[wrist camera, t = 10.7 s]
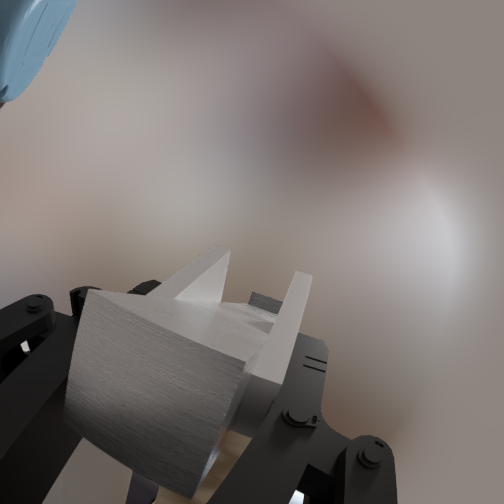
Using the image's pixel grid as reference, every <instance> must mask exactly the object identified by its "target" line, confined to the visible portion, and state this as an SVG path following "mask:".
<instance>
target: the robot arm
mask: <svg viewBox="0 0 504 504" xmlns="http://www.w3.org/2000/svg"><path fill="white" fill-rule="evenodd" d="M76 2H77V0H0V110H1V109H2V108H3V107H4V105H5V103H6V102H9V101H12V100H14V99H15V98H16V97H18V96H19V95H20V94H21V93H22V92H23V91H24V90H25V89H26V88H27V87H28V85H29V84H30V83H31V82H32V80H33V79H34V77H35V76H36V75H37V73H38V72H39V70H40V68H41V67H42V64H43V61H44V60H45V58H46V57H47V56H49V54H50V53H51V51H52V49H53V47H54V46H55V44H56V42H57V40H58V39H59V37H60V35H61V33H62V31H63V30H64V28H65V26H66V24H67V22H68V20H69V18H70V16H71V13H72V11H73V9H74V7H75V5H76ZM230 253H231V249H228V248H225V247H222V246H219V245H214V246H213V247H212V248H210V249H209V250H207V251H206V252H204V253H203V254H202V255H200V256H199V257H197V258H196V259H195V260H193V261H192V262H190V263H189V264H188V265H186V266H185V267H184V268H182V269H181V270H179V271H178V272H177V273H175V274H174V275H173V276H171V277H170V278H168V279H167V280H166V281H164V282H163V283H161V282H158V281H156V280H150V281H147V282H143V283H141V284H139V285H138V286H136V287H135V288H133V290H130V291H129V292H127V294H136V295H145V296H155V297H165V298H174V299H185V300H197V301H210V302H220V301H221V298H222V293H223V288H224V283H225V277H226V272H227V268H228V263H229V258H230ZM312 278H313V276H312V275H308V274H305V273H302V272H299V271H296V272H295V275H294V277H293V280H292V282H291V285H290V287H289V289H288V292H287V294H286V297H285V299H284V301H283V304H282V306H281V308H280V311H279V313H278V315H277V318H276V320H275V322H274V324H273V327H272V329H271V331H270V334H269V338H268V340H267V342H266V344H265V347H264V349H263V351H262V353H261V356H260V358H259V360H258V362H257V364H256V367H255V369H254V371H253V373H252V376H251V379H250V382H249V385H248V388H247V390H246V393H245V396H244V399H243V402H242V405H241V408H240V411H239V414H238V416H237V419H236V422H235V425H234V428H233V430H232V431H233V432H236V433H238V434H241V435H244V436H247V437H249V438H252V439H251V441H250V443H249V444H248V446H247V447H246V449H245V450H244V452H243V453H242V455H241V456H240V458H239V459H238V460H237V462H236V463H235V465H234V466H233V468H232V469H231V471H230V472H229V473H228V475H227V476H226V478H225V479H224V480H223V482H222V483H221V484H220V486H219V487H218V488H217V490H216V491H215V492H214V494H213V495H212V496H211V498H210V499H209V500H208V502H207V503H206V504H289V502H290V500H291V498H292V496H293V494H294V492H295V490H298V491H300V492H302V493H303V494H304V500H303V504H398V503H397V488H396V474H395V463H394V456H393V453H392V450H391V448H390V447H389V446H388V445H387V443H386V442H384V441H383V440H381V439H379V438H378V437H374V436H371V435H365V436H359V437H357V438H355V439H353V440H351V439H349V438H347V437H345V436H343V435H341V434H339V433H337V432H336V431H335V430H333V429H332V428H330V427H329V425H327V423H326V422H325V420H324V419H323V417H322V414H321V400H322V394H323V387H324V381H325V374H326V373H325V372H326V367H327V359H328V349H327V347H326V345H325V342H324V341H323V340H319V339H316V338H313V337H310V336H307V335H304V334H301V333H298V331H299V327H300V323H301V320H302V316H303V312H304V308H305V305H306V302H307V298H308V294H309V290H310V286H311V282H312ZM88 289H95V290H101V289H99V288H95V287H92V286H91V287H89V286H87V287H86V286H83V287H79V288H75V289H73V290H72V291H70V300H71V307H72V313H73V315H72V316H68V315H65V314H62V313H59V312H55V311H54V305H53V301H52V300H51V298H49V297H47V296H46V295H41V294H34V295H30V296H27V297H25V298H23V299H21V300H19V301H17V302H14V303H13V304H11V305H8V306H6V307H5V308H2V309H1V310H0V504H42V503H43V501H44V499H45V498H46V496H47V494H48V493H49V491H50V489H51V488H52V486H53V484H54V483H55V481H56V479H57V478H58V476H59V475H60V473H61V471H62V470H63V468H64V466H65V465H66V463H67V462H68V460H69V458H70V457H71V455H72V454H73V452H74V450H75V449H76V447H77V446H78V444H79V443H80V441H81V440H82V438H83V437H82V436H81V435H80V434H78V433H77V432H76V431H75V430H73V429H72V428H71V427H70V426H68V425H67V424H66V423H65V422H63V414H64V405H65V397H66V389H67V383H68V376H69V370H70V365H71V359H72V354H73V349H74V344H75V340H76V335H77V331H78V327H79V322H80V318H81V314H82V311H83V307H84V303H85V299H86V296H87V292H88ZM25 341H27V344H28V347H29V350H30V351H23V349H22V346H21V344H22V343H24V342H25Z"/></svg>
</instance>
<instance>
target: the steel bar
mask: <svg viewBox="0 0 504 504" xmlns="http://www.w3.org/2000/svg"><path fill="white" fill-rule="evenodd" d="M282 304H283V302H281V301H278V300H275V299H272V298H270V297H266V296H264V295H261V294H258V293H255V292H252V294H251V297H250V300H249V303H248V304H241V303H226V302H210V301H197V300H185V299H174V298H165V297H155V296H145V295H136V294H127V293H119V292H110V291H103V290H95V289H88V292H87V296H86V299H85V303H84V307H83V311H82V314H81V318H80V322H79V327H78V331H77V335H76V340H75V344H74V349H73V354H72V359H71V365H70V370H69V376H68V383H67V389H66V397H65V405H64V414H63V422H65V423H66V424H67V425H68V426H70V427H71V428H72V429H73V430H75V431H76V432H77V433H78V434H80V435H81V436H82V437H84V438H85V439H86V440H88V441H89V442H90V443H92V444H93V445H94V446H96V447H97V448H99V449H100V450H102V451H103V452H105V453H106V454H108V455H109V456H111V457H112V458H114V459H115V460H117V461H118V462H120V463H121V464H123V465H125V466H126V467H128V468H130V469H131V470H133V471H135V472H136V473H138V474H140V475H142V476H144V477H145V478H147V479H149V480H151V481H153V482H155V483H157V484H159V485H161V486H163V487H165V488H167V489H169V490H171V491H173V492H175V493H177V494H179V495H181V496H184V497H186V498H188V499H191V500H192V498H193V496H194V495H195V493H196V492H197V490H198V488H199V487H200V485H201V483H202V482H203V480H204V478H205V477H206V475H207V473H208V472H209V470H210V468H211V467H212V465H213V463H214V462H215V460H216V458H217V456H218V455H219V453H220V451H221V449H222V448H223V446H224V444H225V442H226V441H227V439H228V437H229V435H230V433H231V432H232V430H233V428H234V425H235V422H236V419H237V416H238V414H239V411H240V408H241V405H242V402H243V399H244V396H245V393H246V390H247V388H248V385H249V382H250V379H251V376H252V373H253V371H254V369H255V367H256V364H257V362H258V360H259V358H260V356H261V353H262V351H263V349H264V347H265V344H266V342H267V340H268V338H269V334H270V331H271V329H272V327H273V324H274V322H275V320H276V318H277V315H278V313H279V311H280V308H281V306H282Z"/></svg>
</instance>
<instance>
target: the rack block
mask: <svg viewBox="0 0 504 504" xmlns="http://www.w3.org/2000/svg"><path fill="white" fill-rule="evenodd" d="M21 346H22V349H23V351H30V350H29V347H28V344H27V341H25V342H24V343H22V344H21ZM132 472H133V470H131V469H130V468H128V467H126V466H125V465H123V464H121V463H120V462H118V461H117V460H115V459H114V458H112V457H111V456H109V455H108V454H106V453H105V452H103V451H102V450H100V449H99V448H97V447H96V446H94V445H93V444H92V443H90V442H89V441H88V440H86V439H85V438H84V437H83V438H82V440H81V441H80V443H79V444H78V446H77V447H76V449H75V450H74V452H73V454H72V455H71V457H70V458H69V460H68V462H67V463H66V465H65V466H64V468H63V470H62V471H61V473H60V475H59V476H58V478H57V479H56V481H55V483H54V484H53V486H52V488H51V489H50V491H49V493H48V494H47V496H46V498H45V499H44V501H43V503H42V504H125V502H126V498H127V493H128V489H129V484H130V480H131V476H132Z"/></svg>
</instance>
